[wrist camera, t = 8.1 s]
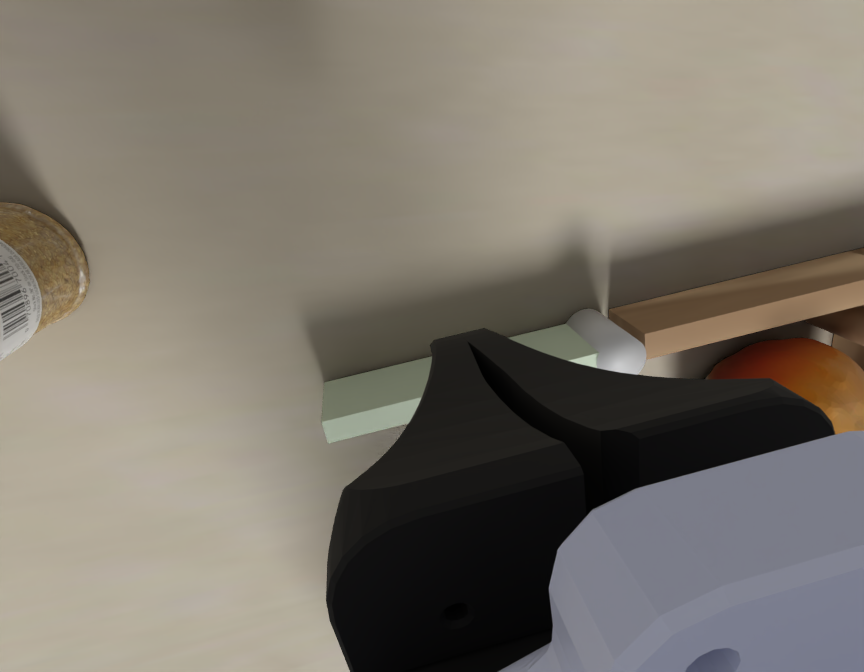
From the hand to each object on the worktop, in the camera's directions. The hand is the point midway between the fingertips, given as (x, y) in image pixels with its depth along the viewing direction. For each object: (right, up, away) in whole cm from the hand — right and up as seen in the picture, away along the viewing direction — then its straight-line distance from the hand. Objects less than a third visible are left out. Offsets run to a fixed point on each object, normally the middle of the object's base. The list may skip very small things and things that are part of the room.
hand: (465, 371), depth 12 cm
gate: (+1, 0, +10) cm, 11 cm away
